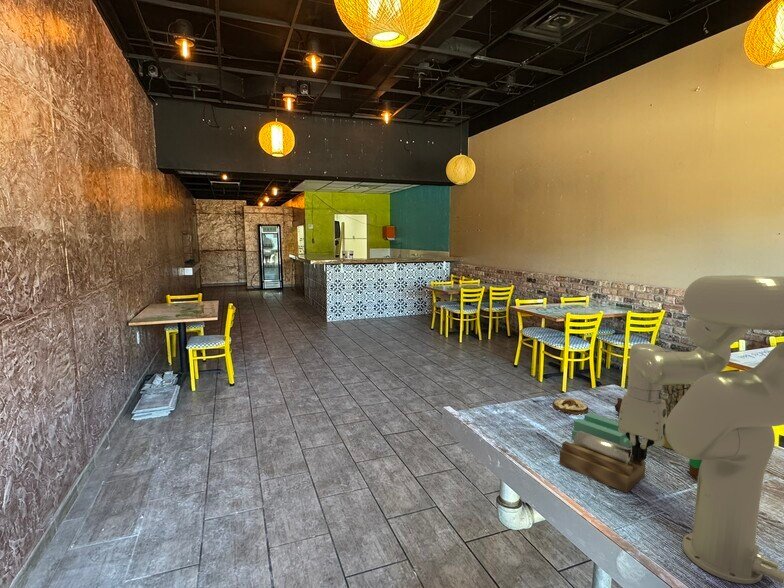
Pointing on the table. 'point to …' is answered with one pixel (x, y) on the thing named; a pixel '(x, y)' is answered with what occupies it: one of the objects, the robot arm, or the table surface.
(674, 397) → the bark patterned canister
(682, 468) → the table surface
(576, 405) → the tan round flat disc
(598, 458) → the wooden channel block
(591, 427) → the v block
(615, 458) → the axle
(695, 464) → the food container
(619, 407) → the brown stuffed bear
